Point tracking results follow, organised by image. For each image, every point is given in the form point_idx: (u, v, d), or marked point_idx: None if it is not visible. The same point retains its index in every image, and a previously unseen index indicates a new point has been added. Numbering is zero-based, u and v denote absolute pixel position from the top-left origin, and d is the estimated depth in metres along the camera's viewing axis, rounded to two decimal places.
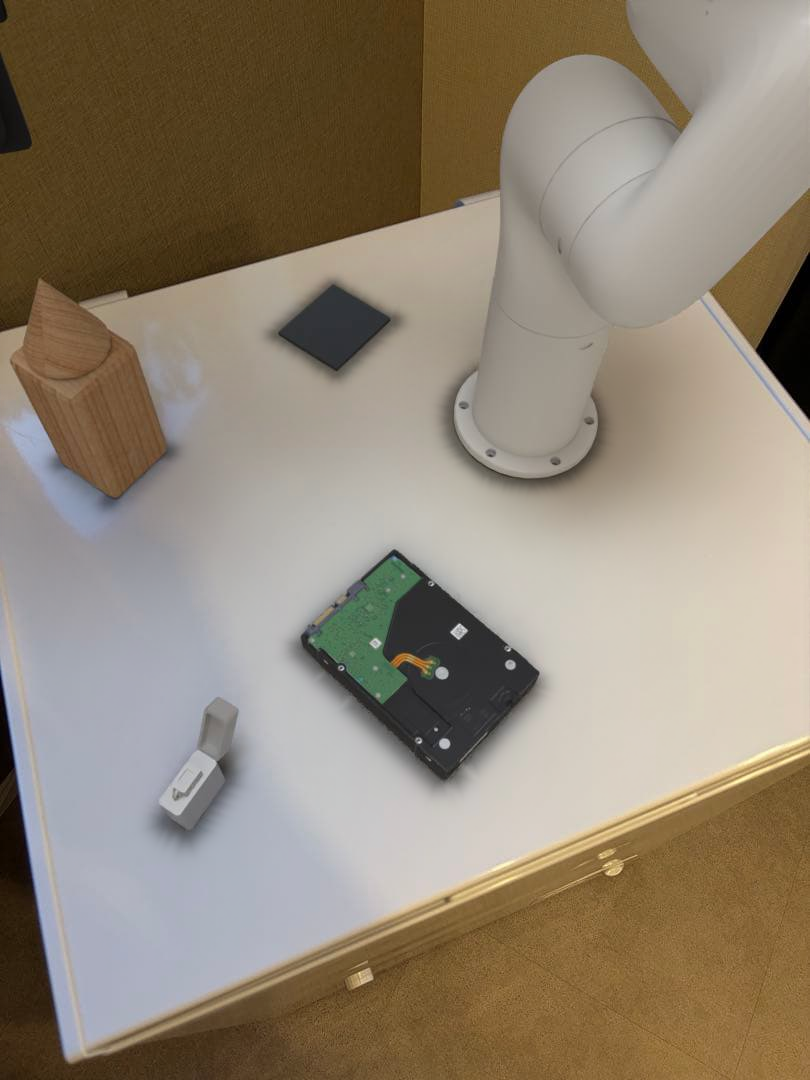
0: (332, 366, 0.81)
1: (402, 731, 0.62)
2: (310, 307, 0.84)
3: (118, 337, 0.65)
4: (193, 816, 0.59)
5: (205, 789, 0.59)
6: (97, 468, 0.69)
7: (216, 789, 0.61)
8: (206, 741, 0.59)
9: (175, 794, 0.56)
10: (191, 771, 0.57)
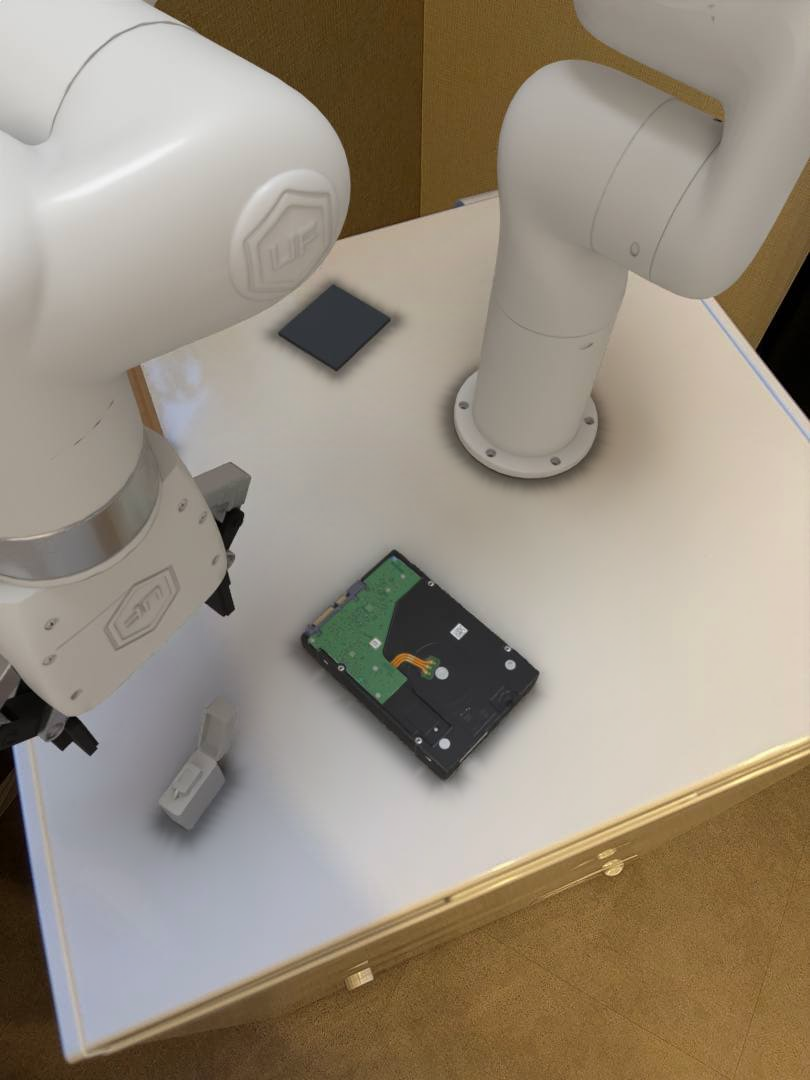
0: (332, 366, 0.81)
1: (402, 731, 0.62)
2: (310, 307, 0.84)
3: None
4: (193, 816, 0.59)
5: (205, 789, 0.59)
6: None
7: (216, 789, 0.61)
8: (206, 741, 0.59)
9: (175, 794, 0.56)
10: (191, 771, 0.57)
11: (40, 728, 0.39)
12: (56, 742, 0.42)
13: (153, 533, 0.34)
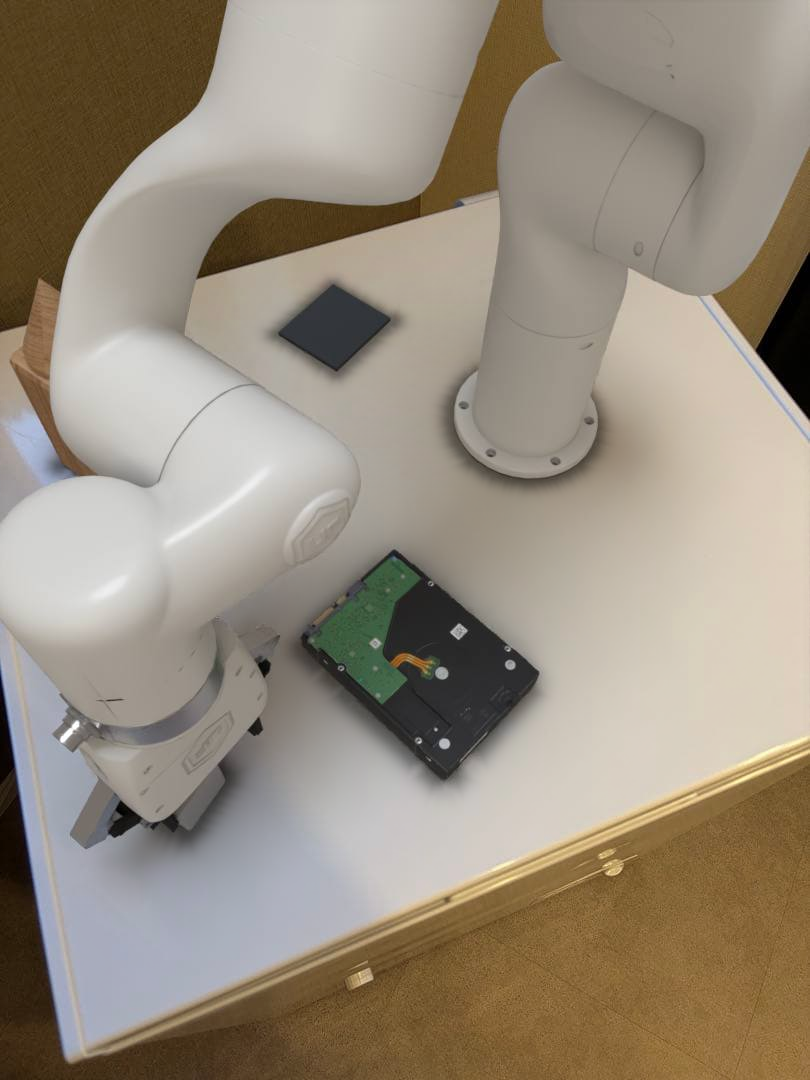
0: (332, 366, 0.81)
1: (402, 731, 0.62)
2: (310, 307, 0.84)
3: None
4: (193, 816, 0.59)
5: (205, 789, 0.59)
6: None
7: (216, 789, 0.61)
8: None
9: None
10: None
11: (142, 819, 0.52)
12: None
13: None
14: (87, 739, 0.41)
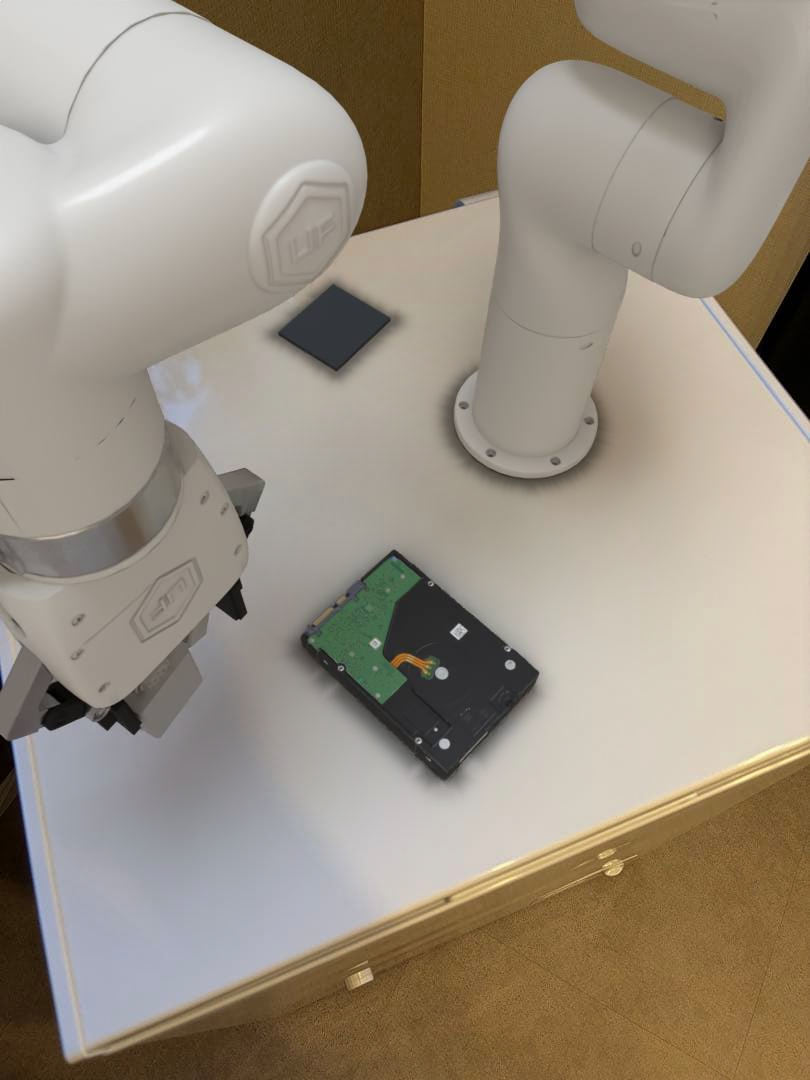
0: (332, 366, 0.81)
1: (402, 731, 0.62)
2: (310, 307, 0.84)
3: None
4: (161, 720, 0.47)
5: (175, 685, 0.47)
6: None
7: (190, 689, 0.49)
8: None
9: None
10: None
11: (87, 709, 0.41)
12: (102, 722, 0.43)
13: (176, 526, 0.35)
14: None
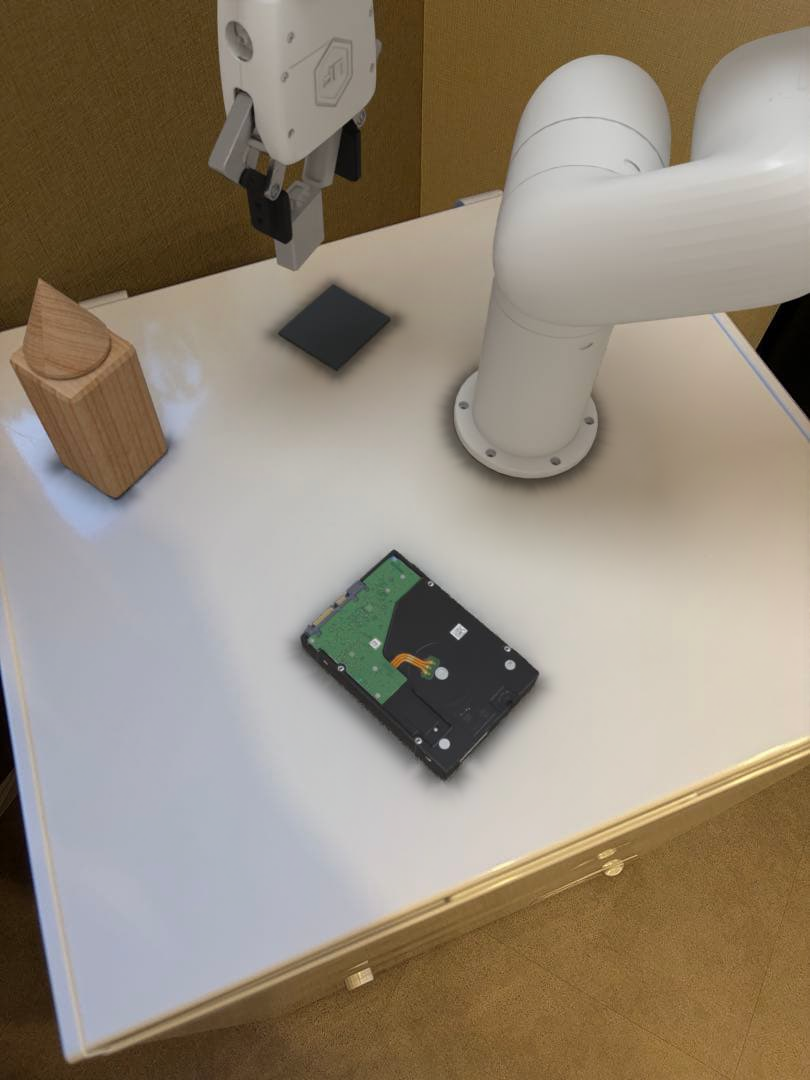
0: (332, 366, 0.81)
1: (402, 731, 0.62)
2: (310, 307, 0.84)
3: (118, 337, 0.65)
4: (300, 249, 0.63)
5: (311, 219, 0.63)
6: (97, 468, 0.69)
7: (317, 238, 0.65)
8: (309, 175, 0.63)
9: None
10: (300, 186, 0.61)
11: (267, 185, 0.56)
12: (269, 216, 0.59)
13: None
14: None
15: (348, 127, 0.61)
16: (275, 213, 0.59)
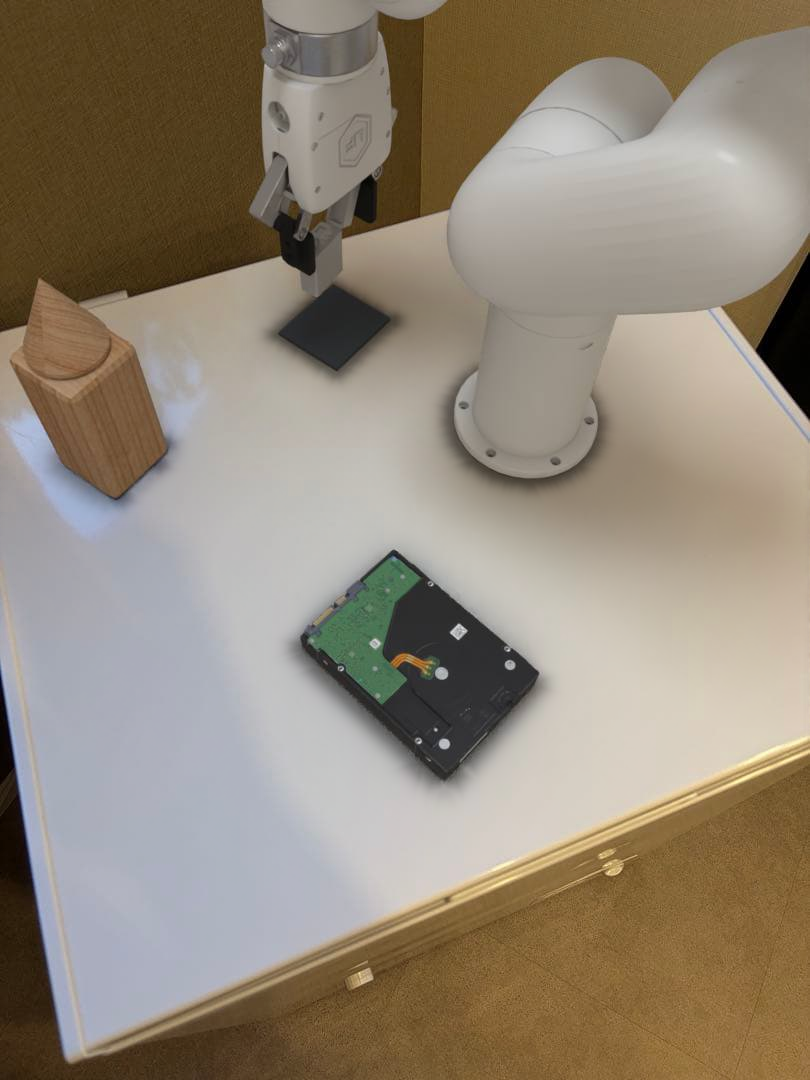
0: (332, 366, 0.81)
1: (402, 731, 0.62)
2: (310, 307, 0.84)
3: (118, 337, 0.65)
4: (321, 279, 0.74)
5: (332, 254, 0.74)
6: (97, 468, 0.69)
7: (337, 269, 0.76)
8: (332, 216, 0.74)
9: None
10: (324, 227, 0.72)
11: (296, 228, 0.68)
12: (297, 253, 0.70)
13: (369, 80, 0.62)
14: (287, 56, 0.57)
15: (366, 179, 0.72)
16: (302, 250, 0.70)
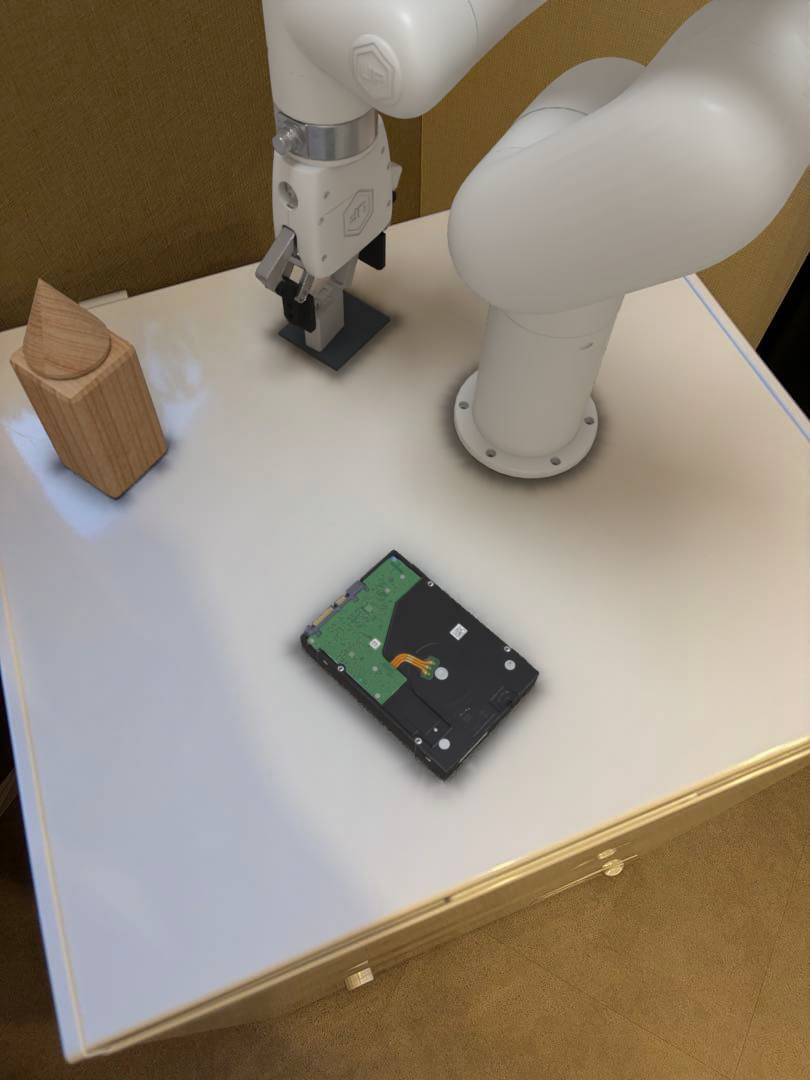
0: (332, 366, 0.81)
1: (402, 732, 0.62)
2: None
3: (118, 337, 0.65)
4: (324, 335, 0.80)
5: (334, 312, 0.80)
6: (97, 468, 0.69)
7: (338, 325, 0.82)
8: (334, 278, 0.80)
9: (316, 301, 0.77)
10: (326, 289, 0.78)
11: (297, 292, 0.72)
12: (298, 313, 0.75)
13: (370, 159, 0.67)
14: (295, 144, 0.62)
15: None
16: (303, 310, 0.75)
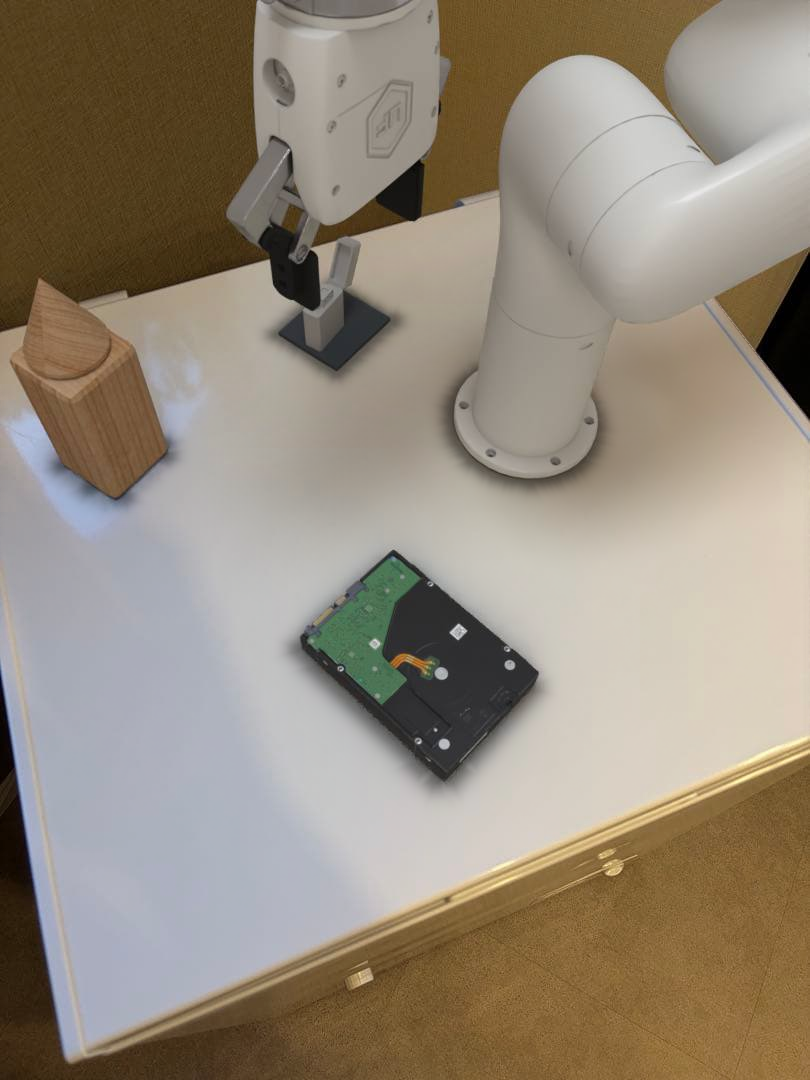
0: (332, 366, 0.81)
1: (402, 732, 0.62)
2: None
3: (118, 337, 0.65)
4: (324, 335, 0.80)
5: (334, 312, 0.80)
6: (97, 468, 0.69)
7: (338, 325, 0.82)
8: (334, 278, 0.80)
9: None
10: (326, 289, 0.78)
11: (292, 246, 0.47)
12: (294, 280, 0.49)
13: (411, 29, 0.42)
14: None
15: None
16: (301, 276, 0.50)
